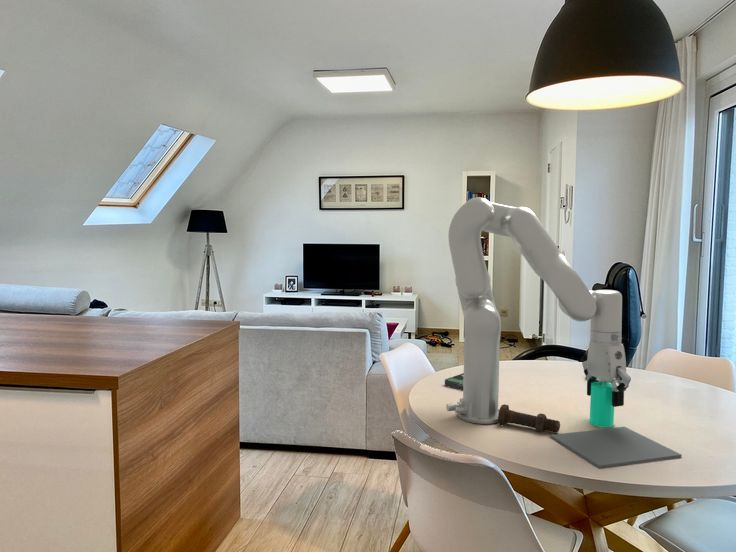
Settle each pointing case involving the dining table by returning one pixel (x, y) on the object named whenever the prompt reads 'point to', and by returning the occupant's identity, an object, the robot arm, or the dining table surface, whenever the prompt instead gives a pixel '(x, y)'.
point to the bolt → (527, 420)
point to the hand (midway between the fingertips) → (604, 400)
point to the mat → (614, 447)
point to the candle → (601, 404)
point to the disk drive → (455, 381)
